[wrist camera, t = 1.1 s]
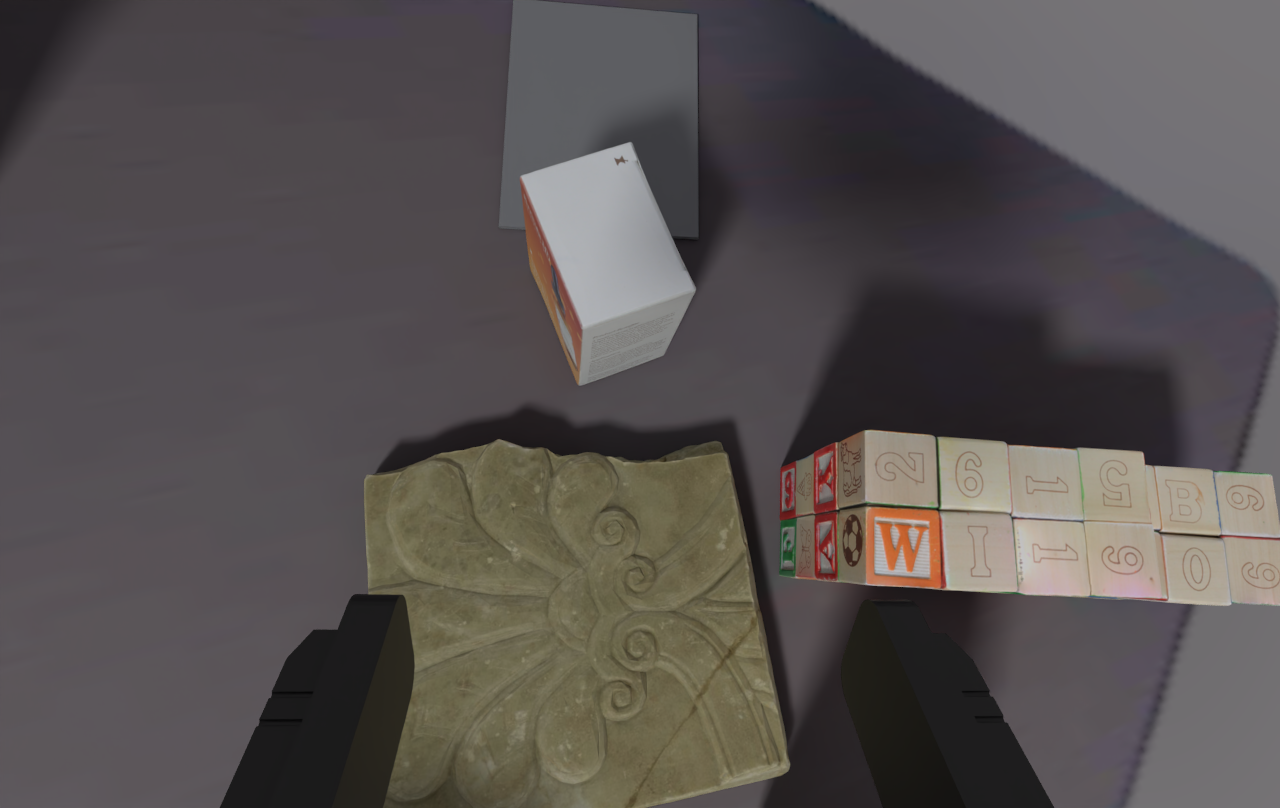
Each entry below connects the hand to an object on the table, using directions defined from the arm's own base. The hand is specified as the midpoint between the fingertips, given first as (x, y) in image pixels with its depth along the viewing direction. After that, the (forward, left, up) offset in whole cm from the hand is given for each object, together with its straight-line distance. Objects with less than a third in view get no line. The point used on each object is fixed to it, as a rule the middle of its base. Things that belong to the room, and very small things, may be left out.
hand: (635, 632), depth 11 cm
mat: (0, +29, -27) cm, 39 cm away
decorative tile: (-1, -1, -28) cm, 28 cm away
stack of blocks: (+21, +3, -27) cm, 35 cm away
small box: (0, +16, -27) cm, 31 cm away
